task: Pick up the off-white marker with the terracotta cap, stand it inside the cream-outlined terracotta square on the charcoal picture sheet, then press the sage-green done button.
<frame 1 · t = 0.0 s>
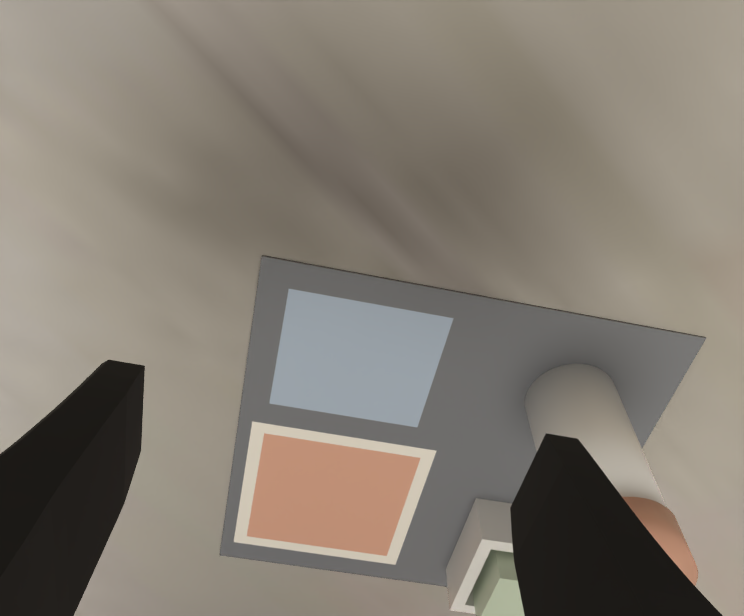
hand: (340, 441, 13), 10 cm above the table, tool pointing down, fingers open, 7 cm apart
picture sheet: (433, 459, 27), on the table
marker: (570, 399, 25), resting on picture sheet
done button: (521, 586, 28), point 2 cm above the table, slide at 0.0 cm
button housing: (513, 542, 30), resting on picture sheet
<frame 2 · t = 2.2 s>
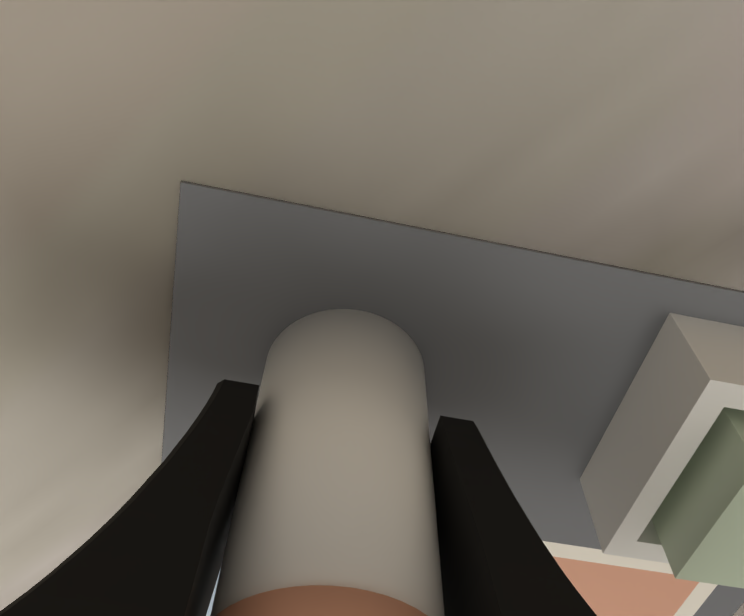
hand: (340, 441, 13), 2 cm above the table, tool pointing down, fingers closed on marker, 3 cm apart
picture sheet: (478, 530, 17), on the table
marker: (344, 374, 14), resting on picture sheet, touching gripper
button housing: (723, 420, 15), resting on picture sheet
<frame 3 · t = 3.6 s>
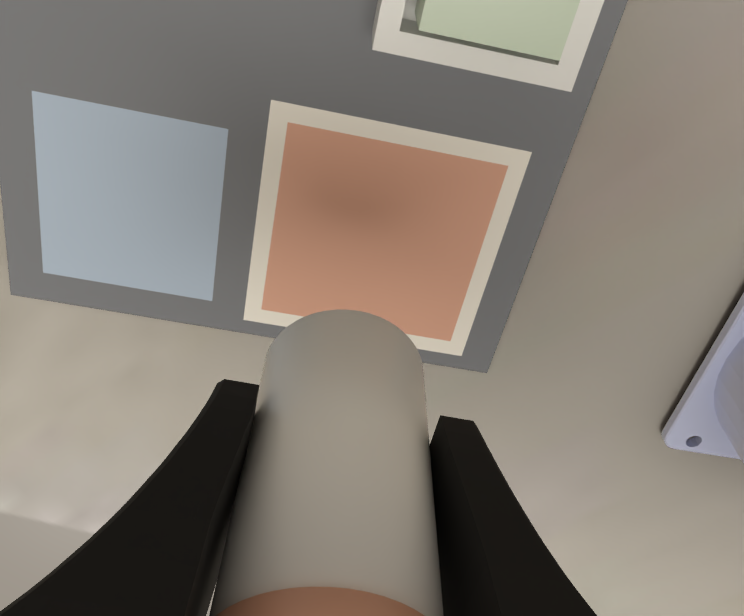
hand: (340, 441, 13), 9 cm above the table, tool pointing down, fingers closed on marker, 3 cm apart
picture sheet: (290, 103, 18), on the table
marker: (343, 375, 14), point 7 cm above the table, touching gripper
when the fingers open (3 cm above the table, at t = 5.1 s): marker drops 2 cm, resting on picture sheet.
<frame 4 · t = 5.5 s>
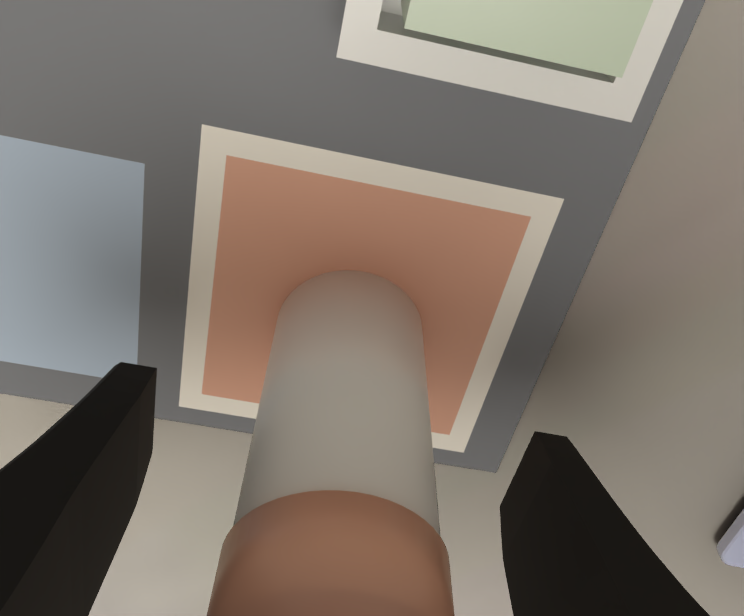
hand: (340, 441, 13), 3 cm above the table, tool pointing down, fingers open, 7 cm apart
picture sheet: (229, 129, 13), on the table
marker: (349, 332, 16), resting on picture sheet
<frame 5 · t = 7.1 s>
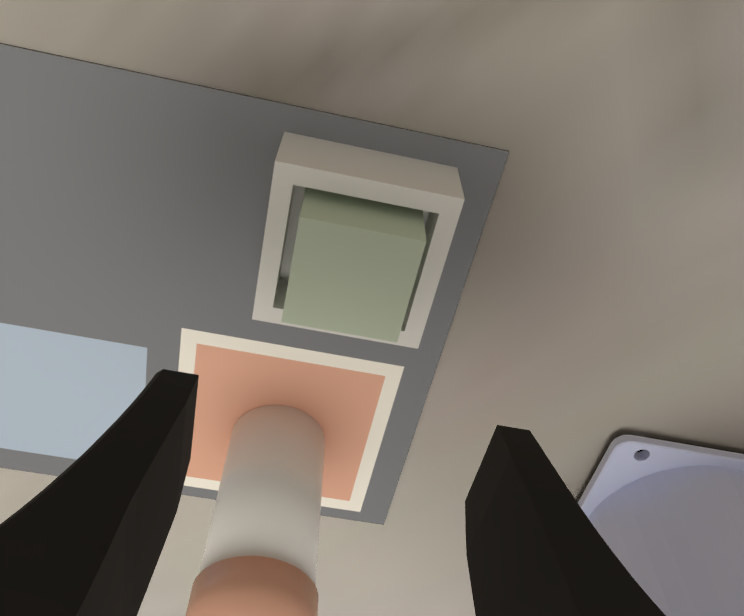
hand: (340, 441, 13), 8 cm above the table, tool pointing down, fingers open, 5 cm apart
picture sheet: (198, 330, 22), on the table
marker: (278, 440, 24), resting on picture sheet
done button: (352, 264, 18), point 2 cm above the table, slide at 0.0 cm
button housing: (354, 226, 20), resting on picture sheet
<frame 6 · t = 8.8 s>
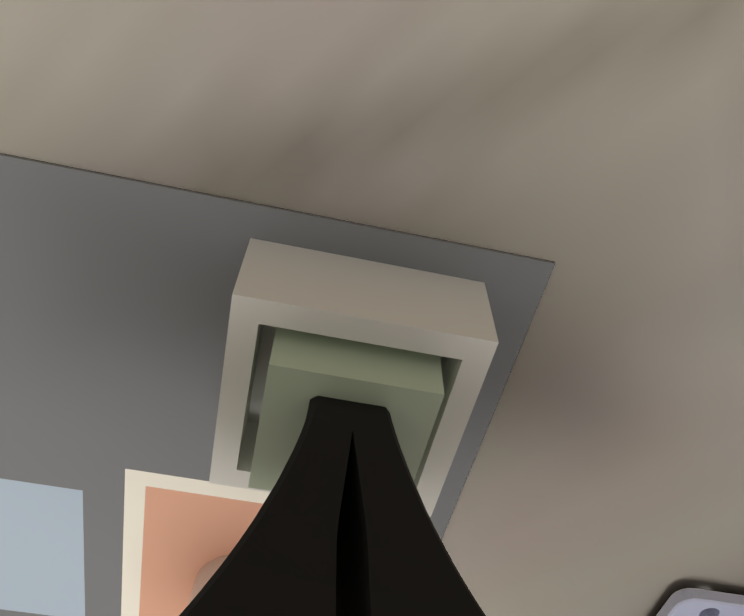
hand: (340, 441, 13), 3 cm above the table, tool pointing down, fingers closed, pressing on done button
picture sheet: (146, 471, 17), on the table
marker: (253, 591, 19), resting on picture sheet
done button: (343, 409, 13), point 2 cm above the table, slide at 0.3 cm, touching gripper
button housing: (346, 353, 15), resting on picture sheet
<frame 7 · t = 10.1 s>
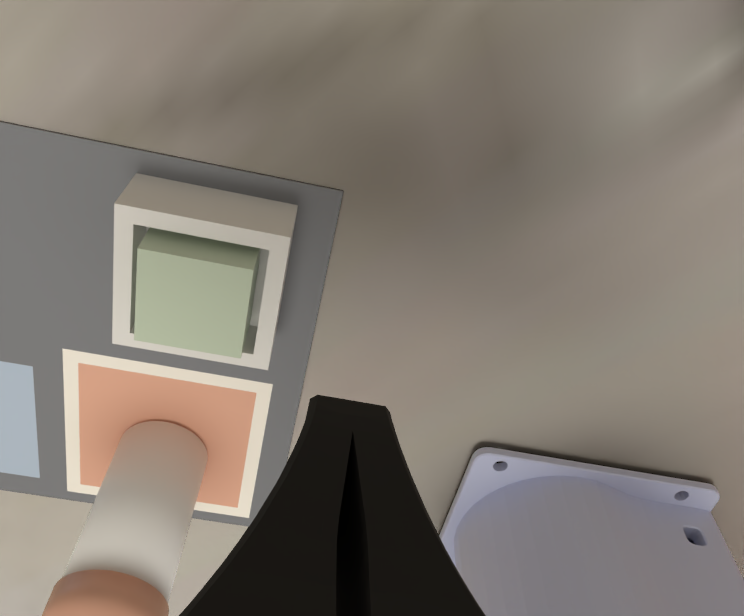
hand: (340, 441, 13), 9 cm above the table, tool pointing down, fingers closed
picture sheet: (78, 350, 23), on the table
marker: (163, 452, 26), resting on picture sheet
done button: (198, 288, 20), point 2 cm above the table, slide at 0.3 cm
button housing: (211, 257, 21), resting on picture sheet
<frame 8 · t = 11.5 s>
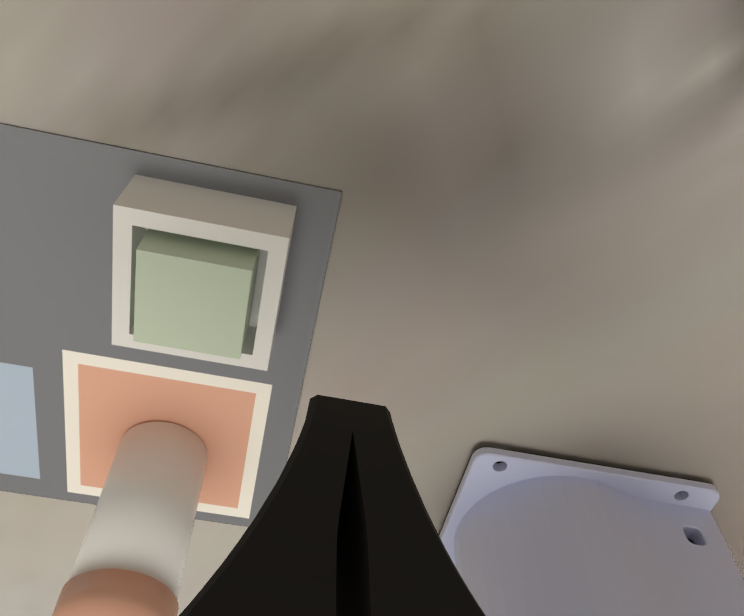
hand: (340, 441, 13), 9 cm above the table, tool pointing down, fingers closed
picture sheet: (77, 351, 23), on the table
marker: (163, 453, 26), resting on picture sheet
done button: (197, 289, 20), point 2 cm above the table, slide at 0.3 cm
button housing: (210, 258, 21), resting on picture sheet
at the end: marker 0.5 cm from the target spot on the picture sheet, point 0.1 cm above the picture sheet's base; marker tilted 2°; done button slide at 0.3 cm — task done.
